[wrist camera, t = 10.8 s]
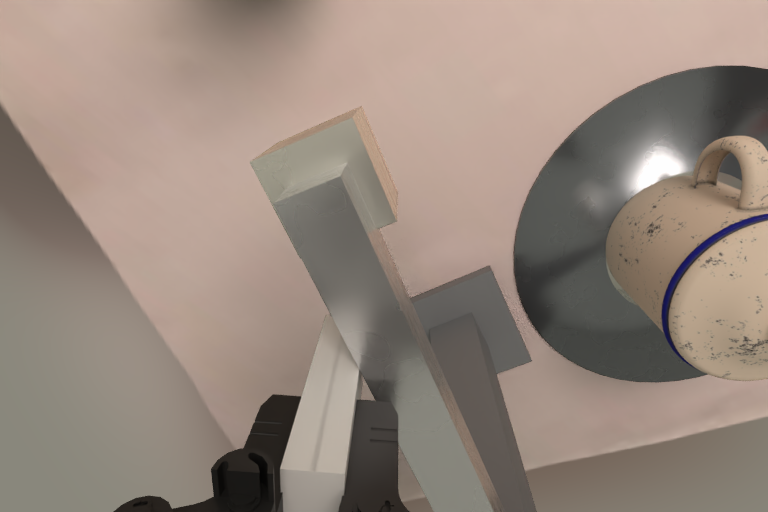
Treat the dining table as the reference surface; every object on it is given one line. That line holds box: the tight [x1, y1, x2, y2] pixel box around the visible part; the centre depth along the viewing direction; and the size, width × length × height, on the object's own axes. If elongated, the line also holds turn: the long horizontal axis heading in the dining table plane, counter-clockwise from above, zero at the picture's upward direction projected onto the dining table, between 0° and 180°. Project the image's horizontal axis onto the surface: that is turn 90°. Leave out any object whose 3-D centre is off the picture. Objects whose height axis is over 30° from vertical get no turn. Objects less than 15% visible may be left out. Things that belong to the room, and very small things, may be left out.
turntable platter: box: [514, 66, 768, 382], centre depth 31 cm, size 22×22×1 cm
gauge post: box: [410, 266, 537, 512], centre depth 27 cm, size 8×8×17 cm
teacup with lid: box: [606, 136, 768, 381], centre depth 25 cm, size 12×9×12 cm
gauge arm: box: [250, 106, 505, 512], centre depth 16 cm, size 20×4×5 cm, turn 23°
